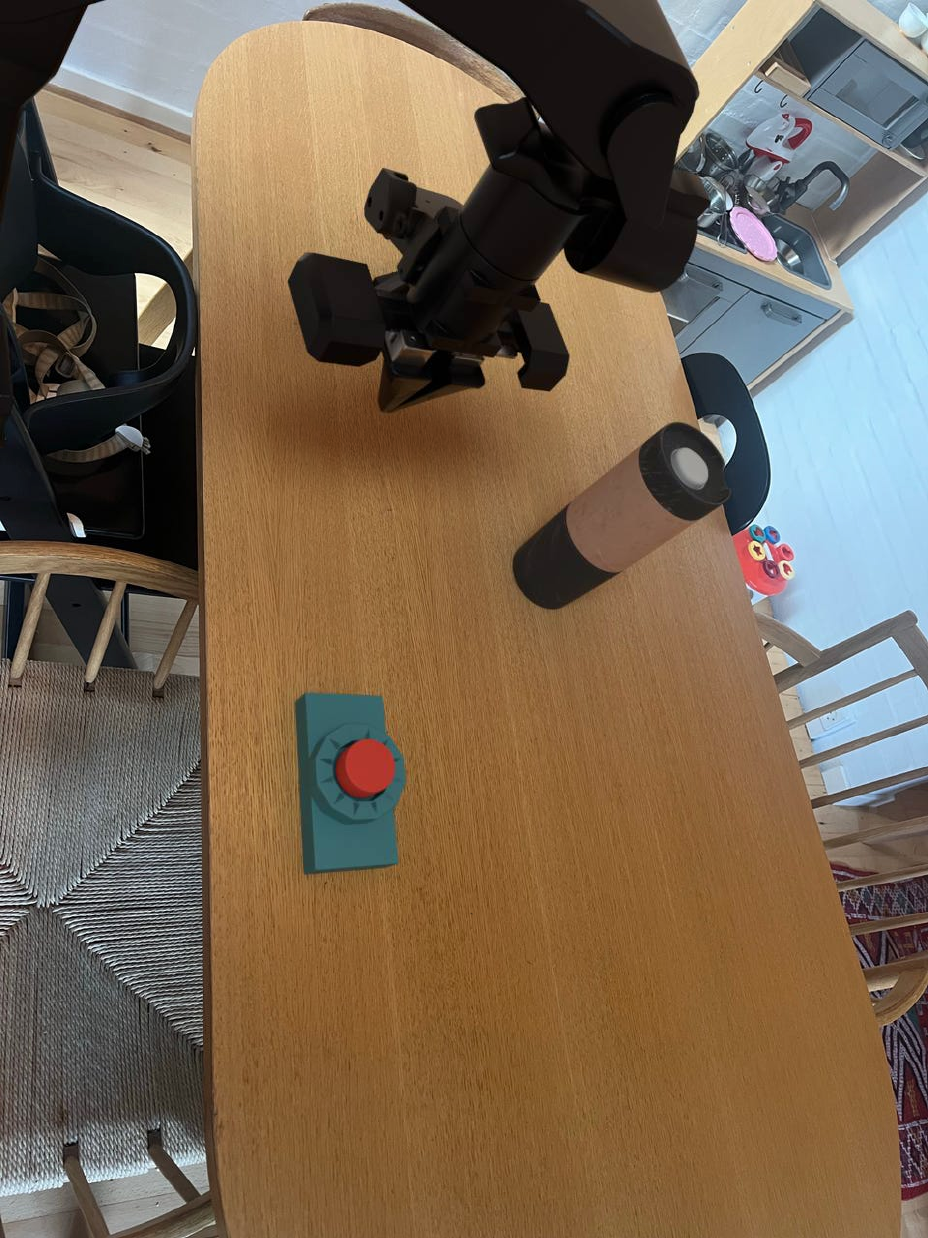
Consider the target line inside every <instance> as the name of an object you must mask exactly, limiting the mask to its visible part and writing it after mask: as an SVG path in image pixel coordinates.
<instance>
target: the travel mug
mask: <svg viewBox="0 0 928 1238" xmlns="http://www.w3.org/2000/svg"><path fill="white" fill-rule="evenodd" d="M720 451H721V450H719V449H718V447H717V445H715V443H714V442H713V441H712V440H711V439H710V438H709V437H708V436H707V435H705V433H704V432H702V431H701V430H700V429H698V428H696V427H695V426H693V425H691V424H689V423H686V422H683V421H673V422H669V423H667V424H666V425H664V426H663V427H661V428H660V429H658V431H656V432H655V433H654V434H653V435H651V436H650V437H649V438H647V439H646V440H645V441H644V442H643V443H641V444H640V445H639V446H638V447H636V448H635V449H634V450H633V451H632V452H630V453H629V454H628V455H626V456H625V457H624V458H623V459H621V460H620V461H619V462H618V463H616V464H615V465H614V466H613V467H612V468H609V470H608V471H606V472H605V473H604V474H602V475H601V476H600V477H599V478H598V479H597V480H596V481H594V482H593V483H591V484H590V485H589V486H588V487H586V488H585V490H583V491H582V492H581V493H579V494H578V495H577V496H575V497H574V498H573V499H572V500H571V501H569V503H567V504H566V505H565V506H564V507H563V508H562V509H561V510H560V511H558V512H557V513H556V514H555V515H554V516H553V517H551V519H549V520H548V521H547V522H546V523H545V524H544V525H543V526H542V527H540V528H539V529H538V530H537V531H536V532H535V533H533V535H532V536H530V537H529V538H528V539H527V540H525V542H524V543H523V544H522V545H521V546H520V547H519V548H517V550H516V552H515V554H514V556H513V560H512V572H513V577H514V580H515V582H516V584H517V586H518V588H519V589H520V591H521V592H522V593H523V595H524V596H525V597H526V598H527V599H528V600H529V601H530V602H532V603H533V604H534V605H536V606H538V607H541V608H543V609H546V610H559V609H561V608H564V607H566V606H568V605H569V604H571V603H572V602H575V601H576V600H577V599H579V598H581V597H583V596H585V595H586V594H588V593H589V592H591V591H593V590H594V589H596V588H598V587H599V586H602V585H603V584H604V583H606V582H608V581H610V580H611V579H613V578H614V577H616V576H618V575H619V574H621V573H623V572H625V570H627V569H629V568H630V567H632V566H633V565H635V564H636V563H638V562H639V561H641V560H642V559H644V558H645V557H647V556H648V555H650V554H651V553H652V552H654V551H656V550H657V549H658V548H660V547H662V546H663V545H664V544H666V543H668V542H669V541H670V540H672V539H673V538H675V537H677V536H678V535H680V534H681V533H682V532H684V531H685V530H686V529H688V528H689V527H691V526H693V525H694V524H696V523H697V522H699V521H700V520H701V519H703V518H704V517H706V516H707V515H709V514H710V513H712V512H714V511H715V510H716V509H718V508H719V507H721V506H722V505H723V504H724V503H726V502H727V501H728V499H729V498H730V496H731V495H732V494H731V493H732V488H730V487H729V486H728V485H727V483H726V479H725V468H726V460H725V459H724V456H723V455H722V453H721V452H720Z"/></svg>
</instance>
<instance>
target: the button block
mask: <svg viewBox="0 0 928 1238" xmlns="http://www.w3.org/2000/svg"><path fill="white" fill-rule="evenodd" d="M294 708H295V709H294V711H295V728H296V730H295V731H296V750H297V768H298V770H297V771H298V790H299V806H300V807H299V808H300V825H301V827H300V829H301V844H302V862H303V863H302V864H303V867H302V868H303V875H305V876H307V875H316V874H317V875H318V874H329V873H342V872H352V871H353V872H354V871H366V870H378V869H386V868H389V867H392V866H395V865H399V863H400V861H399V851H398V841H397V829H396V821H395V820H396V819H395V810H394V808H395V807H396V806H397V805H398V803H399V801H400V798H401V796H402V793H403V791H404V789H405V786H406V783H407V778H406V777H407V775H406V768H405V758H404V756H403V754H402V752H401V751H400V750H399V748H398V746H397V745H396V743H395V742H394V740H393V739H392V736H390V735H389V734H387V729H386V728H387V727H386V717H385V707H384V697H383V695H375V694H373V695H372V694H349V693H329V692H325V693H324V692H307V691H306V692H304V693H303V694H302V695H301V696H300V697H299V698H297V700H295V701H294ZM362 739H373V740H377V741H379V742H381V743H382V744H384V745H385V746H386V747H387V748H388V749H389V751H390V752H391V754H392V756H393V758H394V762H395V774H394V777H393V780H392V782H391V783H390V784H389V786H388V787H386V788H385V789H384V790H382V791H380V792H378V793H376V794H374V795H372V796H370V797H367V798H358V797H354V796H352V795H350V794H348V793H347V792H346V791H344V789H343V788H342V787H341V786H340V784H339V782H338V780H337V776H336V763H337V760H338V758H339V756H340V754H341V753H342V752H343V751H344V750H345V749H347V748H348V747H350V746H351V745H353V744H354V743H356V742H357V741H359V740H362Z"/></svg>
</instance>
